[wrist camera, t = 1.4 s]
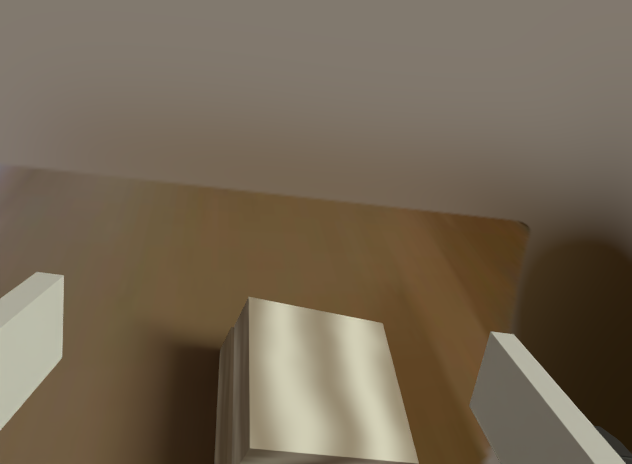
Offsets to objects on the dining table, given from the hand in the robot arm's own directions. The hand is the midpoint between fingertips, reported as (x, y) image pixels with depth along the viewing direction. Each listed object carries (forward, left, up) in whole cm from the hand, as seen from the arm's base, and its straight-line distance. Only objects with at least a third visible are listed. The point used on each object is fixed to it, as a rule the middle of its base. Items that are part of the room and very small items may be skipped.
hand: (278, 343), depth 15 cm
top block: (+12, +13, -23) cm, 28 cm away
